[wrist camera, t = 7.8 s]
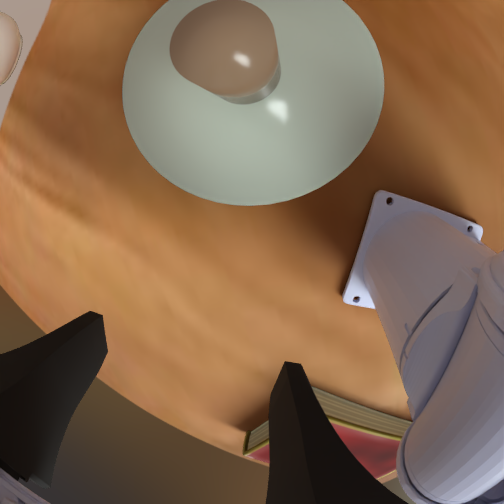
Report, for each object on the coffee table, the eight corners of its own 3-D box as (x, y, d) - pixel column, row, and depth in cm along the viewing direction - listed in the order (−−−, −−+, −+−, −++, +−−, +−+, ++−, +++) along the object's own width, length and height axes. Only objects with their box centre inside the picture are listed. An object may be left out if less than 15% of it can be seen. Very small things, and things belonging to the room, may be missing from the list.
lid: (378, -5, 7) (409, -54, 3) (362, 217, 12) (397, 261, 8) (147, -9, 8) (99, -44, 4) (127, 192, 13) (64, 219, 9)
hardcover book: (368, 462, 29) (369, 484, 25) (246, 429, 28) (240, 458, 24) (432, 423, 25) (439, 447, 21) (311, 378, 23) (311, 415, 19)
